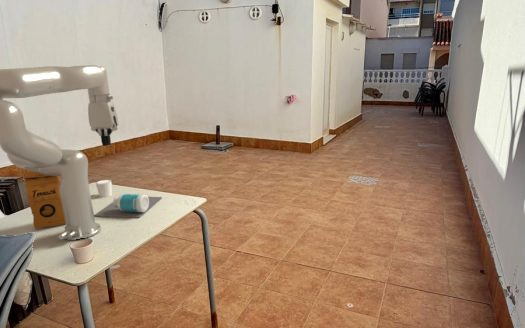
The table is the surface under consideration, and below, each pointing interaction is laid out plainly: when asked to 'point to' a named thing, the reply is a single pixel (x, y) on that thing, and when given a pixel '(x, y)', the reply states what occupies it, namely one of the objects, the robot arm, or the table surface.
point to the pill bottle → (131, 202)
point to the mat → (115, 212)
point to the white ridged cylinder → (104, 188)
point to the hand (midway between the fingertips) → (106, 145)
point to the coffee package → (44, 199)
